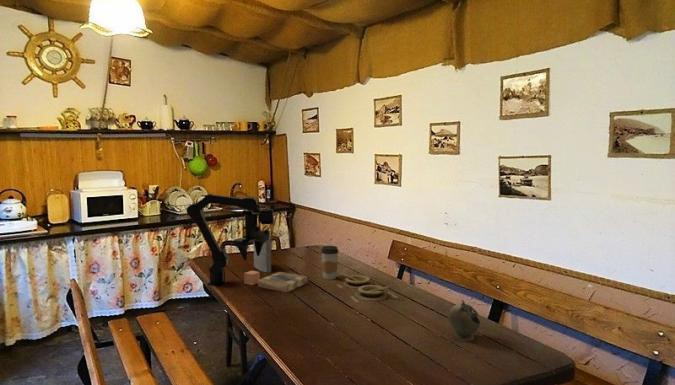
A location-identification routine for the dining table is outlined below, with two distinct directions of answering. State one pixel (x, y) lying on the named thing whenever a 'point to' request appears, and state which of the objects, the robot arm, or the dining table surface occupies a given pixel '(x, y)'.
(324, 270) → the coffee cup
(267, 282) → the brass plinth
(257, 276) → the terracotta cube
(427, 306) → the dining table surface
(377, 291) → the tableware set
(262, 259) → the hip flask
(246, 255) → the robot arm
